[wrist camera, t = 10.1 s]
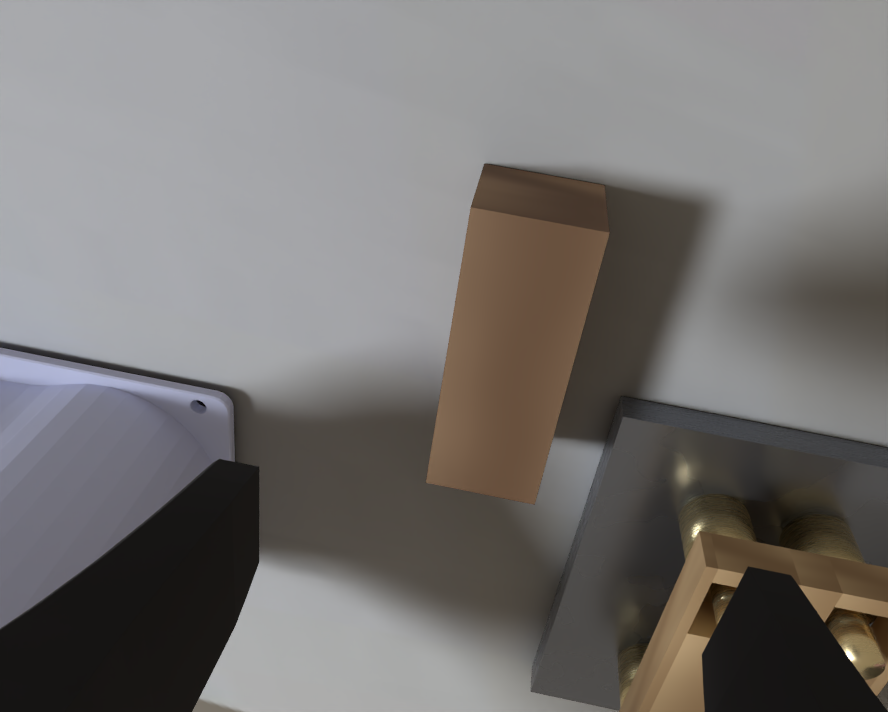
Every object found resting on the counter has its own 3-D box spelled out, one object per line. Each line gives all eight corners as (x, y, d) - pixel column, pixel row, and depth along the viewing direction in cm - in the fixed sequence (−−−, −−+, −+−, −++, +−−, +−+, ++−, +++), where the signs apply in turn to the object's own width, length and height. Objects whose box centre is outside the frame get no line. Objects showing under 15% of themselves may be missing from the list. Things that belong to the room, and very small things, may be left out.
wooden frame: (604, 744, 25) (605, 780, 24) (699, 530, 19) (706, 566, 18) (775, 780, 24) (784, 819, 23) (920, 574, 19) (939, 612, 18)
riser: (441, 416, 23) (425, 482, 20) (484, 163, 19) (471, 207, 16) (538, 436, 23) (534, 504, 20) (604, 185, 18) (610, 232, 16)
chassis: (531, 667, 29) (524, 811, 24) (621, 395, 22) (634, 528, 17) (794, 723, 28) (836, 881, 24) (973, 464, 21) (1080, 619, 17)
